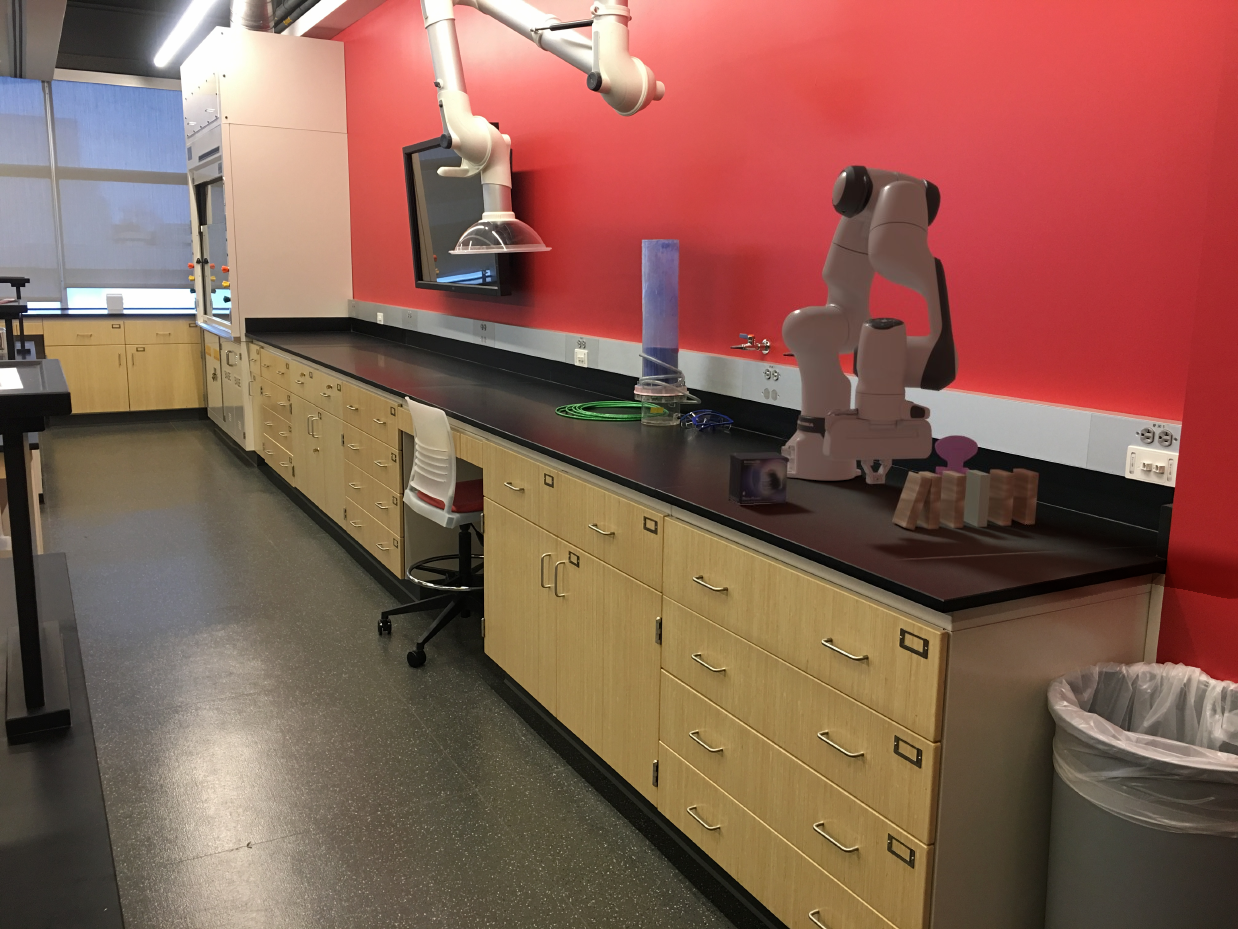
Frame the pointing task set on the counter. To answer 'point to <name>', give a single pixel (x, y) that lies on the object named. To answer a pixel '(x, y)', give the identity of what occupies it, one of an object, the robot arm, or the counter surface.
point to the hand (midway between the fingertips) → (875, 483)
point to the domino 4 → (977, 498)
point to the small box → (758, 477)
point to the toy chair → (955, 453)
